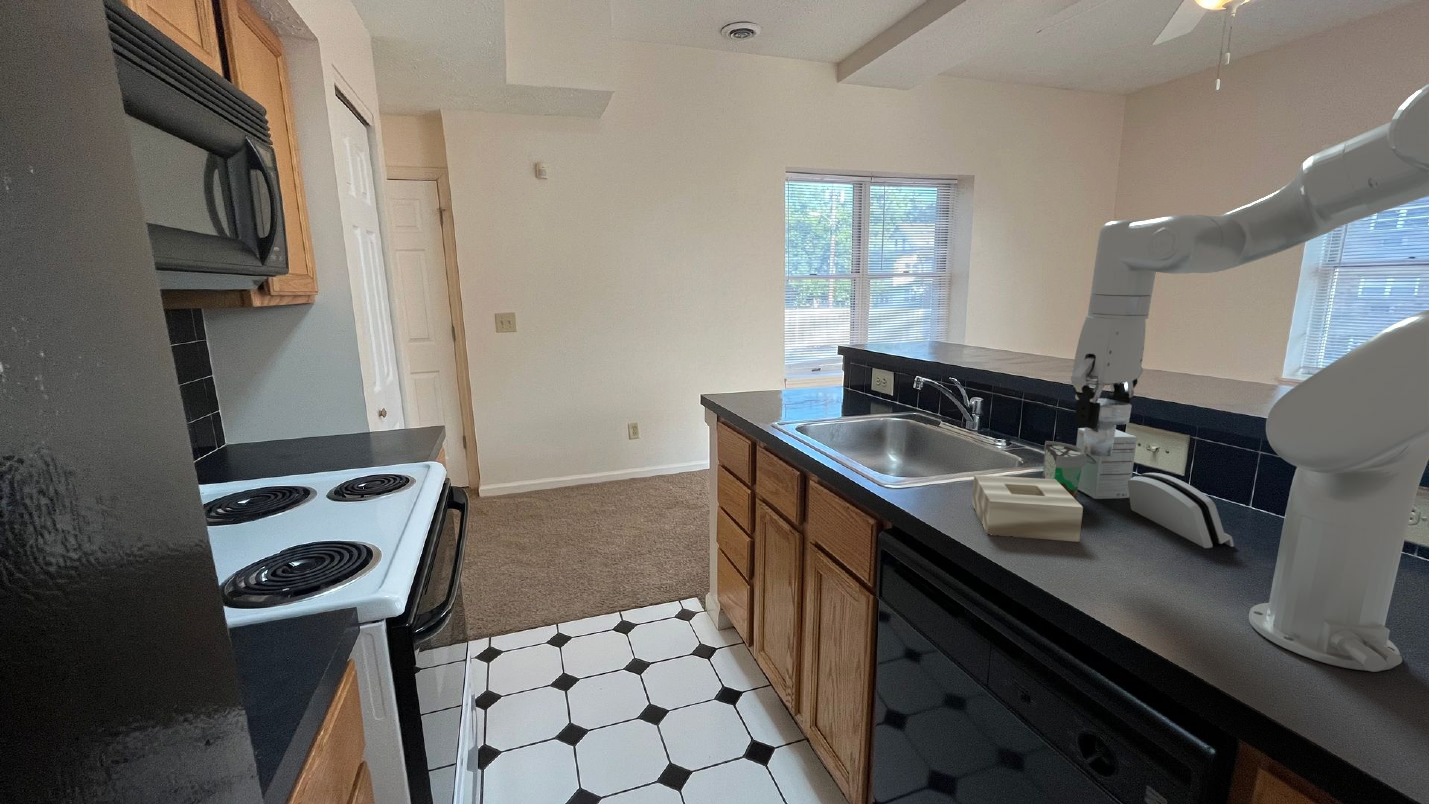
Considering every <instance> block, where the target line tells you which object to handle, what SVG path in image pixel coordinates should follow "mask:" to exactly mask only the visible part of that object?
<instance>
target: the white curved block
mask: <svg viewBox="0 0 1429 804" xmlns="http://www.w3.org/2000/svg"><path fill="white" fill-rule="evenodd" d="M1128 490H1129V502H1130V510H1132V511H1133V512H1135V513H1137V514H1139V515H1140V516H1143V517H1144V518H1146V519H1149V521H1152V522H1153V523H1156V524H1158V525H1160V526H1162V527H1164V528H1166V529H1168V530H1169V531H1171V532H1173V533H1175V534H1178V535H1179V536H1180V537H1182V538H1185V539H1187V540H1188V541H1191V542H1193V543H1194V544H1196V545H1198V546H1200V547H1202V548H1204V549H1210V548H1213V547H1214V546H1213V544H1214V543H1218V544H1220V545H1222V544H1225V545H1227V546H1229V547H1234V546H1235V544H1234V540H1233V537H1232V536H1231V535H1229V534H1228V533H1225V530H1224V528H1223V525H1222V522H1221V518H1220V516H1219V512H1218V509H1217V506H1216V503H1215V502H1214V501H1213V499H1211V498H1210V497H1208V496H1207V495H1205V493H1203V492H1201V491H1200V490H1199V489H1197V488H1195V487H1194V486H1193V485H1190V484H1188V483H1187V482H1185V481H1182V480H1181V479H1178V478H1176V477H1174V476H1172V475H1168V474H1165V473H1164V474H1163V473H1161V472H1160V473H1158V472H1145V473H1141V474H1140V475H1139V476H1133V477H1132V478H1131V479H1130V480H1128Z"/></svg>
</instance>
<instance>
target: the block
mask: <svg viewBox="0 0 1429 804" xmlns="http://www.w3.org/2000/svg"><path fill="white" fill-rule="evenodd" d="M972 488H973V490H972V499H971V500H972V501H971V505H973V506H972V508H973V507H974V508H973V509H975V510H974V512H975V511H976V512H975V513H977V514H976V515H977V517H978V520H979V521H980V523H981V525H982V524H983V525H982V527H983V529H984V531H985V530H986V531H985V533H986V535H987V534H992V535H991V536H997V535H999V537H1010V536H1013V538H1023V539H1024V538H1027V539H1040V540H1052V541H1065V542H1078V543H1079V542H1080V538H1081V537H1080V536H1081V527H1082V520H1083V513H1084V512H1083V510H1084V507H1083V506H1082V504H1081V503H1080V502H1079V501H1077V500H1076V499H1075V498H1074V497H1073V496H1072V495H1071V494H1070V493H1069V492H1068V491H1067V490H1066V489H1065V488H1064V487H1063V486H1062V485H1061V484H1060V483H1059V482H1058V481H1057V480H1056V479H1043V478H1040V477H1039V478H1036V477H1034V478H1033V477H1017V476H1000V475H982V474H980V475H977V474H974V475H973V487H972Z"/></svg>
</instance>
